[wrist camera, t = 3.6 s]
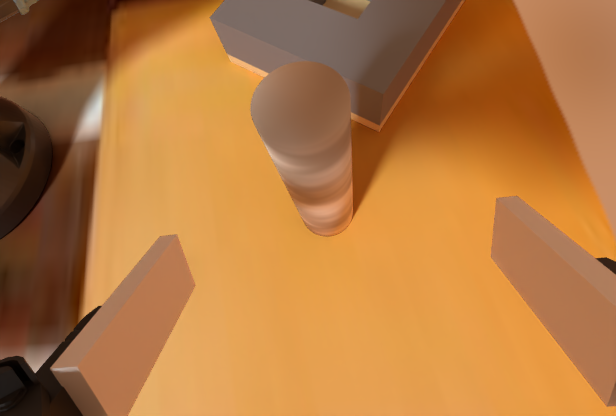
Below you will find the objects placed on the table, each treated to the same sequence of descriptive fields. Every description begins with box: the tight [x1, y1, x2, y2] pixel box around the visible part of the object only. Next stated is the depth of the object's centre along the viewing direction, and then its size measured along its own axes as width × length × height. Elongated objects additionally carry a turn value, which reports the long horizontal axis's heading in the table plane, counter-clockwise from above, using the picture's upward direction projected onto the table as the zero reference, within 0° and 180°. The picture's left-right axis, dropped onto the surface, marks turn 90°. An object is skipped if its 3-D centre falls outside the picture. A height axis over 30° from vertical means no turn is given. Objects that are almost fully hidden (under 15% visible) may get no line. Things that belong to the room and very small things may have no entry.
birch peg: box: [251, 61, 353, 236], centre depth 20 cm, size 4×4×14 cm
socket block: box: [210, 0, 465, 132], centre depth 30 cm, size 16×16×5 cm
